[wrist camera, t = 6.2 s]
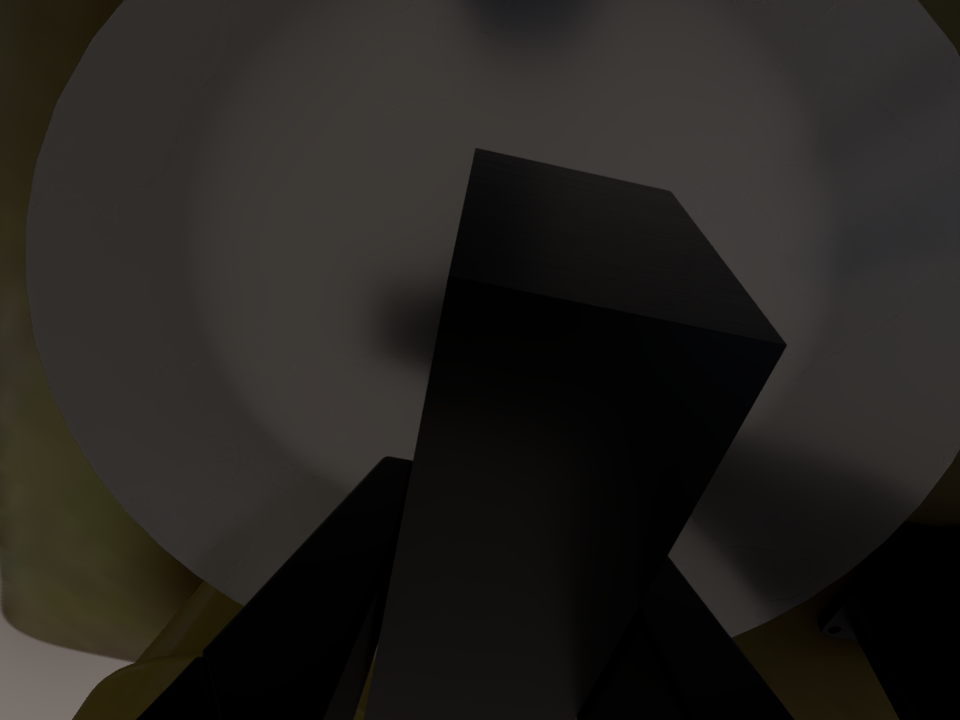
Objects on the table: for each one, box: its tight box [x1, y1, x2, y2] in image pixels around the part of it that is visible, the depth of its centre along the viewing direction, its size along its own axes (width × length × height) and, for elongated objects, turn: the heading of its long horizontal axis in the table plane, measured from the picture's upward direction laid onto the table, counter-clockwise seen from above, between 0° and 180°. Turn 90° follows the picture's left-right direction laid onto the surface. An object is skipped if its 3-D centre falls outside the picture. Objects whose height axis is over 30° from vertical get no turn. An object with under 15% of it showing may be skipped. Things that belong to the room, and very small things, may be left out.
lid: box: [26, 0, 960, 720], centre depth 8 cm, size 14×14×5 cm
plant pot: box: [72, 581, 375, 720], centre depth 21 cm, size 10×10×10 cm
